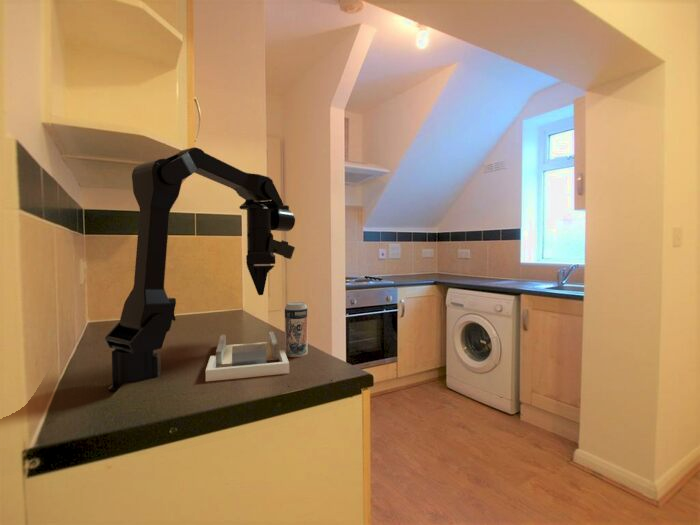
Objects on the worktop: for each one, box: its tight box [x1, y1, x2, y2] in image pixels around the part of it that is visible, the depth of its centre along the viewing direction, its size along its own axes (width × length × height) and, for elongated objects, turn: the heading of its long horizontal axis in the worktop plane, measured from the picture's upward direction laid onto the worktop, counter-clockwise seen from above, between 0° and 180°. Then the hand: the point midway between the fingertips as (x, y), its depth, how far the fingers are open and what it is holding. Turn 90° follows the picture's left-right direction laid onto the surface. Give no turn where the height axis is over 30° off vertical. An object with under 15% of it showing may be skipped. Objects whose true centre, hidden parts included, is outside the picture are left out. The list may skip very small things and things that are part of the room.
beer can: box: [284, 301, 309, 358], centre depth 76 cm, size 5×5×12 cm
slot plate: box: [215, 331, 280, 366], centre depth 78 cm, size 12×15×4 cm
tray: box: [205, 349, 290, 382], centre depth 66 cm, size 14×9×3 cm, turn 106°
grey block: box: [231, 344, 268, 366], centre depth 66 cm, size 6×5×4 cm
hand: (259, 292), depth 87 cm, fingers open, 9 cm apart
